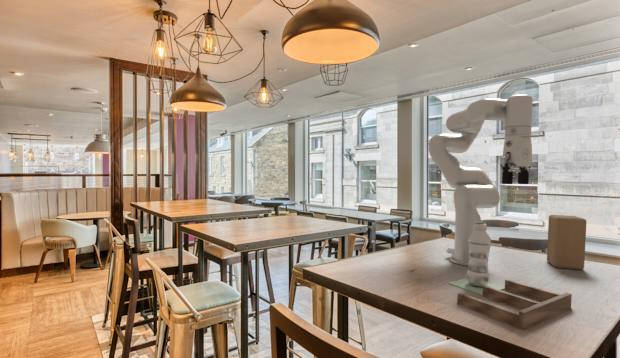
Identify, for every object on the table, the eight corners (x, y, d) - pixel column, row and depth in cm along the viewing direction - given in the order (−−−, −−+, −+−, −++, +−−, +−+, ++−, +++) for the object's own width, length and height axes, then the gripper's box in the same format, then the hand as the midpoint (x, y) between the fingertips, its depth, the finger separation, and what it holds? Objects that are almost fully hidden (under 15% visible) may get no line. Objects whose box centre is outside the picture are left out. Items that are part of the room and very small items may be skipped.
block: (574, 264, 139) (576, 215, 138) (585, 271, 130) (587, 219, 129) (545, 261, 142) (548, 214, 142) (554, 267, 133) (556, 217, 132)
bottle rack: (457, 303, 94) (457, 289, 93) (506, 288, 107) (507, 276, 107) (523, 329, 79) (524, 312, 79) (570, 308, 93) (571, 293, 92)
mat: (448, 283, 110) (448, 282, 110) (470, 278, 117) (470, 277, 117) (483, 295, 100) (483, 294, 100) (505, 289, 107) (505, 288, 107)
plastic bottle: (462, 282, 111) (464, 221, 111) (481, 282, 112) (484, 222, 111) (473, 289, 105) (475, 225, 104) (493, 289, 105) (496, 225, 105)
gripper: (515, 129, 105) (512, 184, 106) (543, 134, 114) (540, 184, 115) (491, 131, 112) (489, 183, 112) (519, 135, 121) (517, 183, 121)
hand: (515, 183), depth 113 cm, fingers open, 9 cm apart
